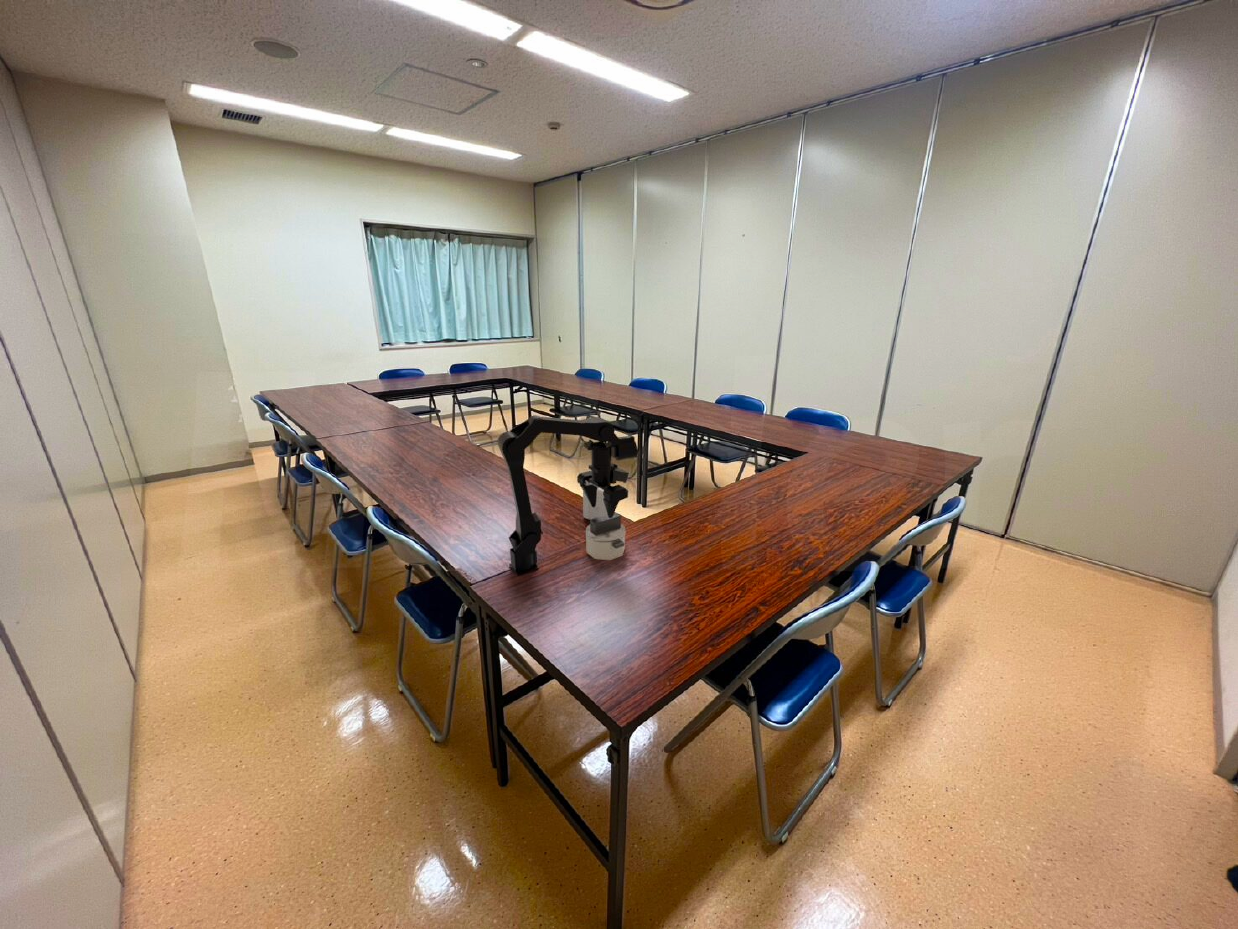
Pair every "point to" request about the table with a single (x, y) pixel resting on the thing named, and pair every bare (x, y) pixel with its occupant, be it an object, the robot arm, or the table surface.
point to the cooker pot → (605, 549)
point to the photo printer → (595, 511)
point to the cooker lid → (606, 529)
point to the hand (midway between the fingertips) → (602, 512)
